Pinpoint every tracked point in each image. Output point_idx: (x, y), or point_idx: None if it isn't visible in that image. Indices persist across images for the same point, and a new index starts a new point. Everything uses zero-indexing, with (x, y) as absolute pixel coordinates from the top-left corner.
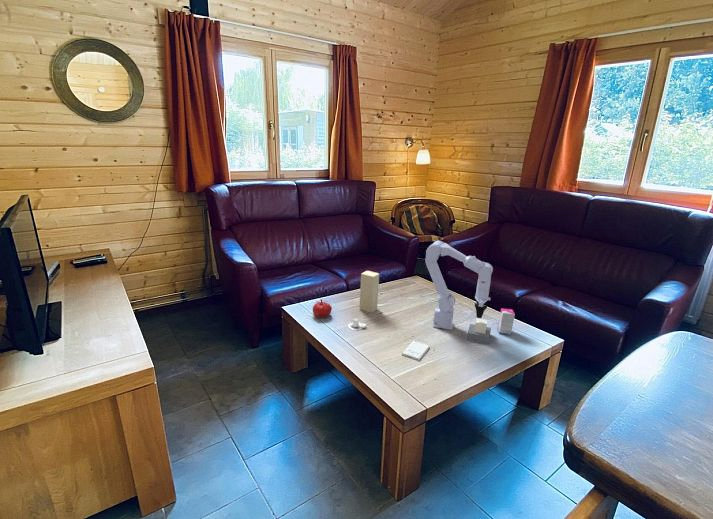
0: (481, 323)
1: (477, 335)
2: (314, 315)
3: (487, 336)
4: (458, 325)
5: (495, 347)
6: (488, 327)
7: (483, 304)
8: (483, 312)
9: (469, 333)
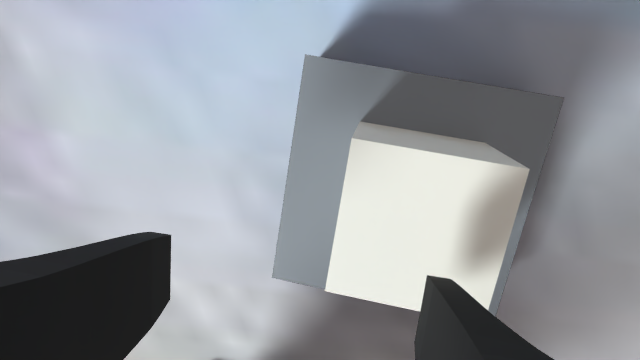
0: (503, 246)
1: (518, 228)
2: None
3: (545, 123)
4: (228, 326)
5: (595, 30)
6: (302, 86)
7: (54, 290)
8: (536, 349)
9: (496, 308)
